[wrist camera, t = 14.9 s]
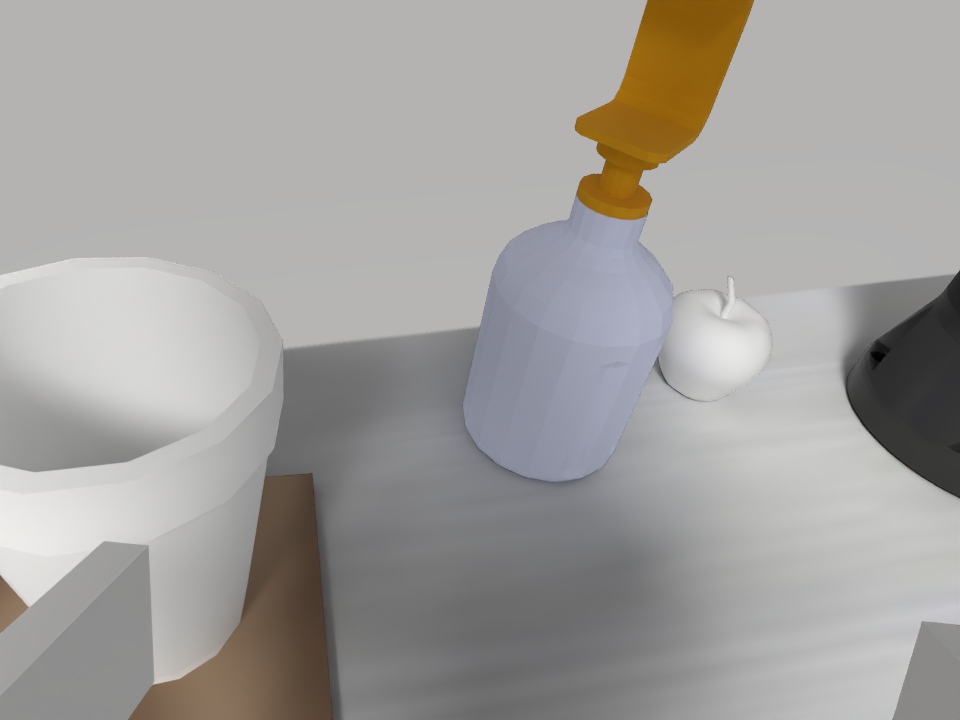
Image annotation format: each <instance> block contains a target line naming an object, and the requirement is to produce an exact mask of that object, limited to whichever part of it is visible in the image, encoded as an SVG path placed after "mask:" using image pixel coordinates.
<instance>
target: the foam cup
mask: <svg viewBox="0 0 960 720" xmlns="http://www.w3.org/2000/svg"><path fill="white" fill-rule="evenodd" d="M283 400H284V381H283V340H282V338H281V337H280V335H279V333H278V331H277V329H276V327H275V326H274V324H273V322H272V320H271V318H270V317H269V315H268V313H267V311H266V309H265V308H264V305H263V304H262V302H261V300H259V299H258V298H256V297H255V296H253V295H251V294H250V293H248V292H246V291H245V290H243V289H241V288H240V287H238V286H237V285H235V284H233V283H231V282H230V281H228V280H227V279H225V278H223V277H222V276H220V275H218V274H217V273H215V272H213V271H209V270H204V269H200V268H196V267H191V266H187V265H182V264H178V263H173V262H169V261H165V260H160V259H156V258H151V257H127V258H126V257H124V258H123V257H122V258H73V259H68V260H65V261H60V262H55V263H51V264H47V265H43V266H38V267H34V268H30V269H26V270H21V271H17V272H13V273H9V274H4V275H0V575H1V577H2V578H3V579H4V580H5V581H6V582H7V583H8V584H9V586H10V587H11V588H12V589H13V590H14V591H15V592H16V593H17V595H18V596H19V597H20V598H21V599H22V600H23V601H24V602H25V604H26V605H27V606H28V607H30V606H32V605H33V604H34V603H35V602H36V601H37V600H38V599H39V598H41V597H42V596H43V595H44V594H45V593H46V592H47V591H48V590H50V589H51V588H52V587H53V586H54V585H55V584H56V583H57V582H59V581H60V580H61V579H62V578H63V577H64V576H65V575H66V574H68V573H69V572H70V571H71V570H72V569H73V568H74V567H75V566H77V565H78V564H79V563H80V562H81V561H82V560H83V559H84V558H86V557H87V556H88V555H89V554H90V553H91V552H92V551H93V550H94V549H96V548H97V547H98V546H99V545H100V544H101V543H102V542H103V541H108V542H119V543H129V544H139V545H149V566H150V589H151V613H152V636H153V659H154V683H153V684H152V685H154V684H158V683H163V682H168V681H172V680H177V679H180V678H182V677H183V676H185V675H186V674H188V673H189V672H191V671H193V670H194V669H196V668H197V667H199V666H200V665H202V664H203V663H205V662H206V661H208V660H209V659H211V658H213V657H214V656H216V655H217V654H218V652H219V651H220V650H221V648H222V647H223V645H224V644H225V643H226V641H227V640H228V639H229V637H230V636H231V634H232V633H233V632H234V630H235V629H236V627H237V626H238V625H239V623H240V620H241V615H242V610H243V605H244V600H245V594H246V589H247V584H248V578H249V572H250V566H251V560H252V553H253V547H254V541H255V535H256V528H257V522H258V516H259V510H260V503H261V497H262V491H263V485H264V478H265V472H266V466H267V460H268V455H269V454H270V453H271V452H272V451H273V450H274V447H275V442H276V437H277V431H278V426H279V421H280V416H281V410H282V405H283Z"/></svg>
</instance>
